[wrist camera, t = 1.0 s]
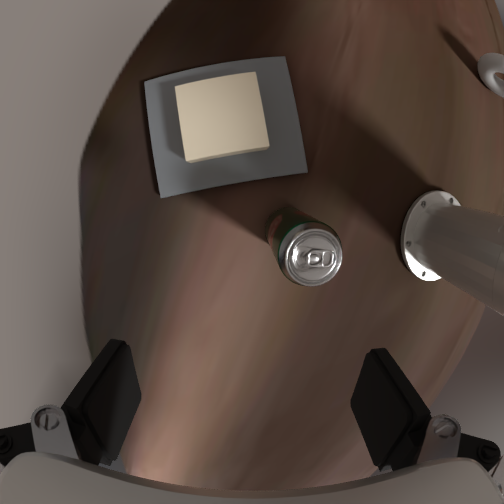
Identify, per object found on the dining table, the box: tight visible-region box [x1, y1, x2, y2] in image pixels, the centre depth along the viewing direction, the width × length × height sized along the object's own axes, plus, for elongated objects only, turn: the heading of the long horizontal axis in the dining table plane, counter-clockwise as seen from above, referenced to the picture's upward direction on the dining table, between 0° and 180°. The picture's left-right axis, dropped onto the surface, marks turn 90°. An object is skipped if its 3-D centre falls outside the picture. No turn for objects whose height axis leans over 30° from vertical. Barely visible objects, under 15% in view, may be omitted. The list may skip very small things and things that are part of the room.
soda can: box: [265, 207, 342, 286], centre depth 25 cm, size 5×5×12 cm
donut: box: [478, 53, 504, 98], centre depth 20 cm, size 10×3×10 cm, turn 66°
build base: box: [144, 56, 308, 198], centre depth 25 cm, size 16×14×4 cm
